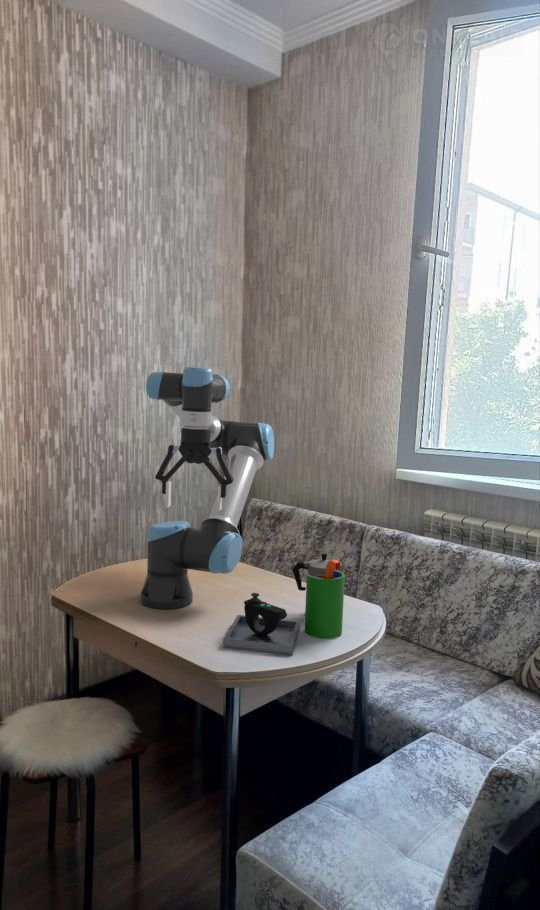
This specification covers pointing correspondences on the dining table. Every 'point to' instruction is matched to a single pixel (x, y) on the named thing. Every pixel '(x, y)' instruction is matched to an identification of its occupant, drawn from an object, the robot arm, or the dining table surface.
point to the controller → (265, 610)
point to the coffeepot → (312, 569)
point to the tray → (263, 637)
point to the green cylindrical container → (325, 602)
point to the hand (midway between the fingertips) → (193, 508)
